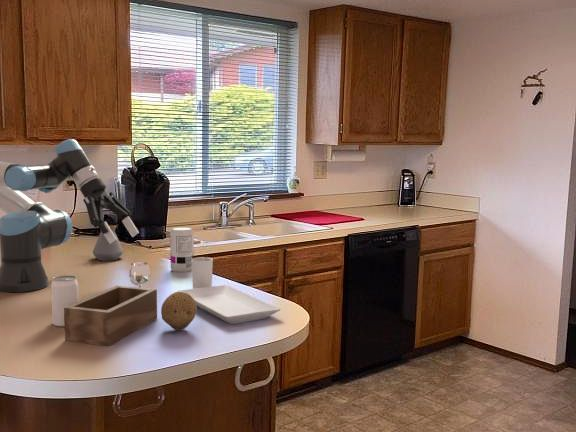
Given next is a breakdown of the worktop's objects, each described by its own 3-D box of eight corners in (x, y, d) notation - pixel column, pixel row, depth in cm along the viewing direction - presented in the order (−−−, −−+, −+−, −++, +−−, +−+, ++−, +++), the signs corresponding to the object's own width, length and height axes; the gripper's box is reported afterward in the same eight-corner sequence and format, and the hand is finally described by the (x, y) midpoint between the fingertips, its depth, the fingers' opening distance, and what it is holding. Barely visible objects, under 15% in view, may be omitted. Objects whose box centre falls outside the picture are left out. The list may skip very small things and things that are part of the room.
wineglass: (140, 308, 176) (139, 266, 175) (125, 305, 179) (124, 264, 178) (154, 304, 181) (154, 263, 180) (140, 301, 184) (139, 260, 183)
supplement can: (166, 271, 224) (165, 229, 222) (178, 266, 232) (178, 226, 230) (185, 273, 221) (185, 231, 219) (197, 268, 229) (197, 228, 227)
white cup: (196, 294, 193) (196, 262, 192) (188, 289, 199) (188, 258, 197) (216, 291, 197) (216, 260, 195) (207, 287, 202) (207, 256, 201)
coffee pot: (127, 260, 242) (127, 221, 240) (97, 262, 236) (96, 223, 234) (110, 250, 260) (109, 214, 258) (82, 253, 254) (81, 216, 252)
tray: (226, 294, 195) (226, 283, 194) (281, 320, 169) (281, 307, 168) (176, 301, 186) (176, 290, 185) (225, 330, 160) (226, 317, 159)
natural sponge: (195, 336, 153) (195, 296, 152) (158, 336, 153) (158, 296, 151) (197, 325, 162) (197, 287, 161) (162, 325, 162) (162, 287, 160)
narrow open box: (64, 340, 149) (63, 307, 148) (117, 314, 171) (116, 285, 170) (109, 346, 145) (108, 312, 144) (157, 318, 167) (156, 289, 166)
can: (70, 328, 158) (69, 281, 157) (47, 326, 159) (45, 279, 158) (83, 320, 164) (82, 275, 163) (61, 318, 166) (60, 274, 164)
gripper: (74, 179, 189) (111, 237, 188) (118, 174, 213) (152, 226, 212) (57, 192, 192) (94, 250, 190) (103, 186, 215) (136, 238, 214)
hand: (125, 238), depth 201 cm, fingers open, 13 cm apart
